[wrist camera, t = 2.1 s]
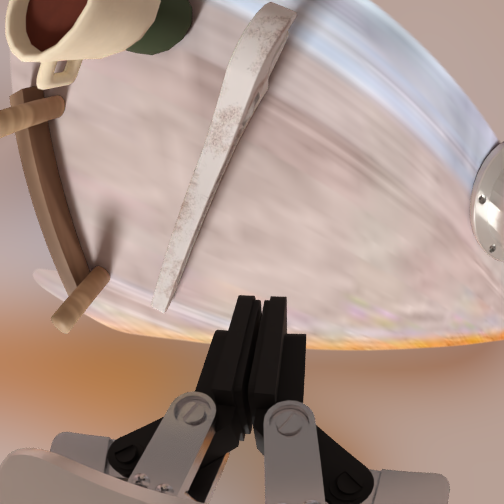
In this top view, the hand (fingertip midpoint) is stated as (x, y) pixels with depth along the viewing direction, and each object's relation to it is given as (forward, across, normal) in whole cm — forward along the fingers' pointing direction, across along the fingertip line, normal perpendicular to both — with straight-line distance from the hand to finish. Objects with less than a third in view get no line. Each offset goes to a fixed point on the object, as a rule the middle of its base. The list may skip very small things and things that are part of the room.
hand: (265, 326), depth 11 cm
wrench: (+16, +6, 0) cm, 18 cm away
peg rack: (+16, +23, 0) cm, 28 cm away
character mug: (+16, +9, -15) cm, 24 cm away
